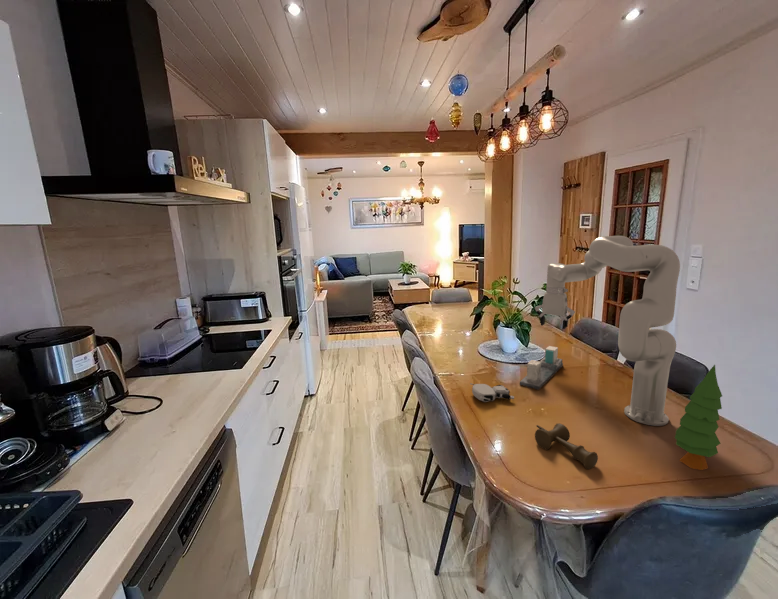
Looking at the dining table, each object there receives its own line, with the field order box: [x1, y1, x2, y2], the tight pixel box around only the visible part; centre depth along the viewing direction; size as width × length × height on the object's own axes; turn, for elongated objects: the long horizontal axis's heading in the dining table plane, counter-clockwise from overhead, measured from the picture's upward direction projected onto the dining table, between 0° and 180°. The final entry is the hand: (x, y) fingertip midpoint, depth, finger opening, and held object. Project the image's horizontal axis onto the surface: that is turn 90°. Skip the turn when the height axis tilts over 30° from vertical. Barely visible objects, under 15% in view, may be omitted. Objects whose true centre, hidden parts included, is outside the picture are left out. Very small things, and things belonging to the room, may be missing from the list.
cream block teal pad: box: [544, 345, 559, 364], centre depth 166 cm, size 4×6×8 cm
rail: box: [519, 356, 564, 391], centre depth 159 cm, size 32×8×10 cm, turn 138°
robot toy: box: [469, 383, 515, 403], centre depth 140 cm, size 12×4×15 cm
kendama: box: [534, 423, 599, 470], centre depth 106 cm, size 6×10×20 cm
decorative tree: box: [674, 364, 723, 471], centre depth 96 cm, size 10×9×30 cm
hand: (553, 326), depth 164 cm, fingers open, 9 cm apart
